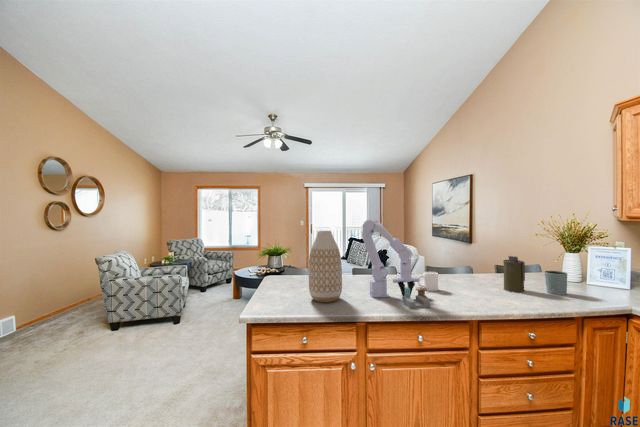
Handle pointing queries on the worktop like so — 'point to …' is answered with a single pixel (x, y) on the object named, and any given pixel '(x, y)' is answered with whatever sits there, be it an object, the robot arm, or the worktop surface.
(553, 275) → the grey pot
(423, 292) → the bobbin
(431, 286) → the cup
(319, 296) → the vase
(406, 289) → the tab
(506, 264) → the canister
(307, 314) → the worktop surface
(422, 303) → the board
